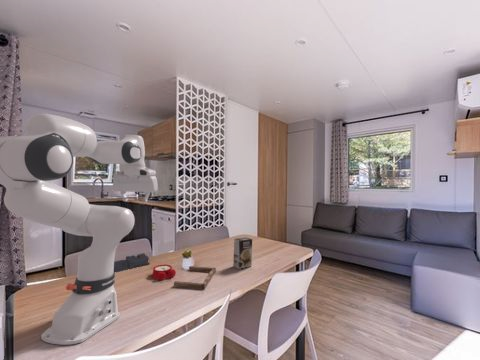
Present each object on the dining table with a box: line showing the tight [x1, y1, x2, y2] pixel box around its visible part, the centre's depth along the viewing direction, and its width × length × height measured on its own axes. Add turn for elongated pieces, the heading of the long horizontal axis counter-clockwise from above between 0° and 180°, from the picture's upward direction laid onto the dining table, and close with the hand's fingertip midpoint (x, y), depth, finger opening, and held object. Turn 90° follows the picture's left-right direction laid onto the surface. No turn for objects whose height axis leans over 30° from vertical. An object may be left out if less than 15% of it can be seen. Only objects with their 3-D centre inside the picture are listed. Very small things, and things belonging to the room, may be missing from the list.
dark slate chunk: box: [114, 252, 151, 273], centre depth 134 cm, size 15×22×5 cm
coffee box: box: [232, 236, 253, 270], centre depth 137 cm, size 9×6×16 cm
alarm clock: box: [151, 264, 176, 281], centre depth 120 cm, size 10×6×15 cm
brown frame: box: [173, 265, 217, 290], centre depth 118 cm, size 22×14×2 cm, turn 173°
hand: (135, 201), depth 107 cm, fingers open, 8 cm apart
